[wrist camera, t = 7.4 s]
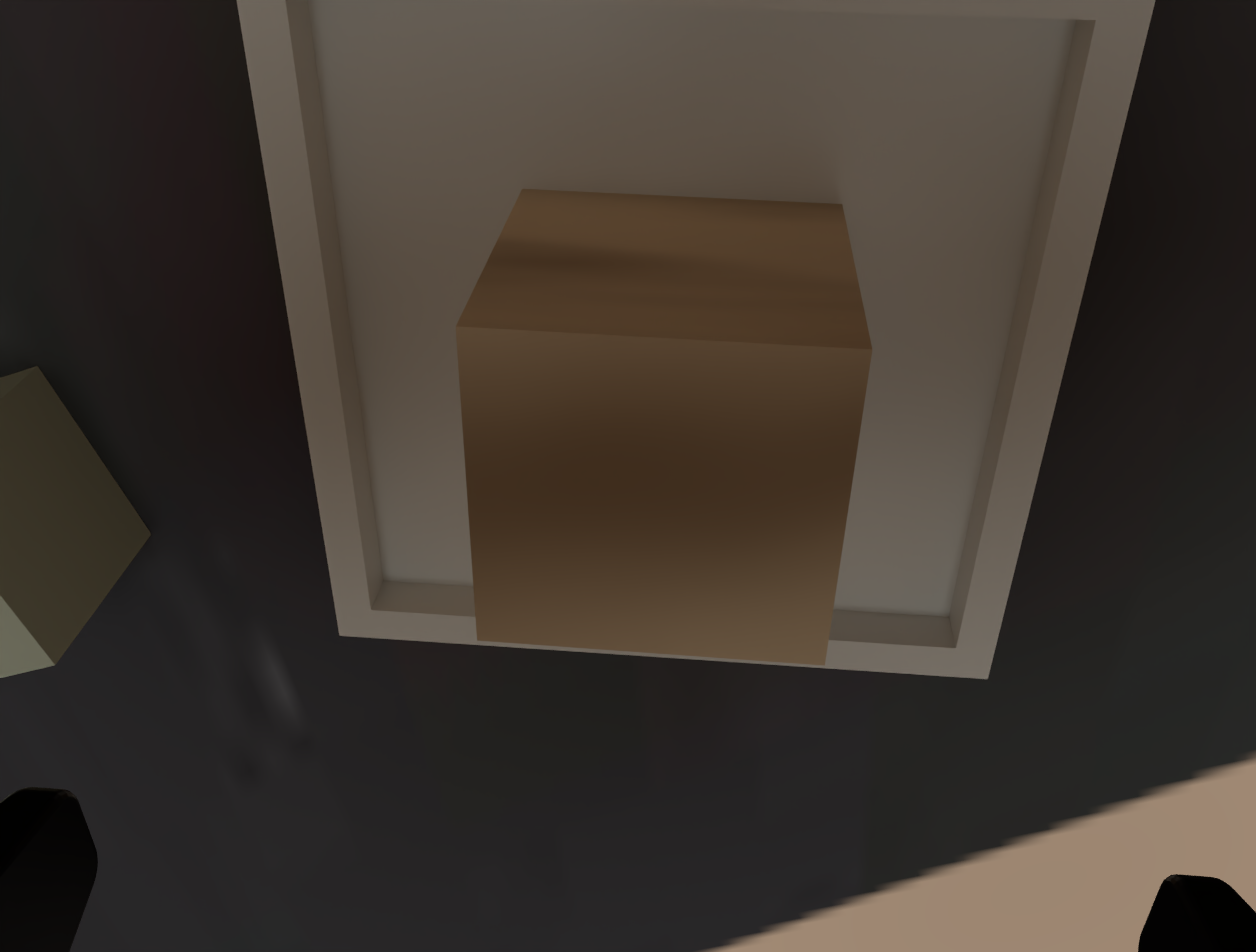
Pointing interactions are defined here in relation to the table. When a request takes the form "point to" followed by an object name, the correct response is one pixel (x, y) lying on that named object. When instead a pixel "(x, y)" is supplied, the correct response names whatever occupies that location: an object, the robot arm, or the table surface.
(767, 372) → the oak block
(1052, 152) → the tray
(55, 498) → the sage block
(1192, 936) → the robot arm
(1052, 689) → the table surface
